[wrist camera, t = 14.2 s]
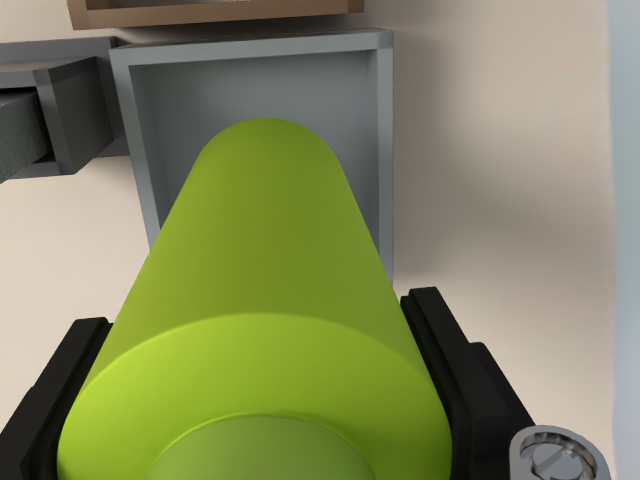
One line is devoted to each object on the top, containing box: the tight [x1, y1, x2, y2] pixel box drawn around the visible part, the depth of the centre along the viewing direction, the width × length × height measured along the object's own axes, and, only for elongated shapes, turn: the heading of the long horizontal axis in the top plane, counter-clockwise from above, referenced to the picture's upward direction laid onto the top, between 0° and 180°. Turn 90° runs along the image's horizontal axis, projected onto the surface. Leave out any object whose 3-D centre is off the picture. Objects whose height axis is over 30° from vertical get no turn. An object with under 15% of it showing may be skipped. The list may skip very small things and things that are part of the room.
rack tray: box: [109, 28, 393, 287], centre depth 24 cm, size 12×11×4 cm
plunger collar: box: [0, 36, 130, 180], centre depth 21 cm, size 5×5×6 cm
